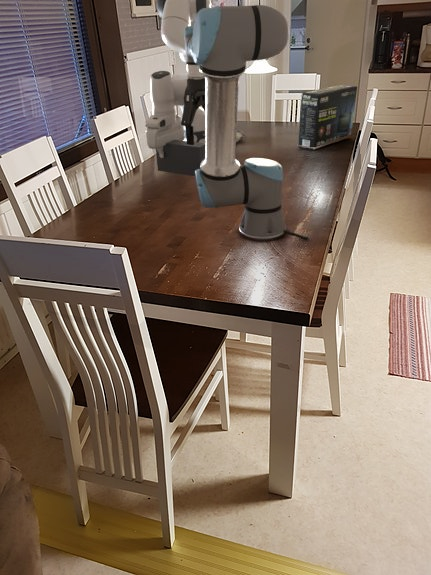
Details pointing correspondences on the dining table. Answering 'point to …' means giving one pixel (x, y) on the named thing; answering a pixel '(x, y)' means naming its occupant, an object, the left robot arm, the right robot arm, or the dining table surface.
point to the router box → (326, 115)
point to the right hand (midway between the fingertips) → (200, 140)
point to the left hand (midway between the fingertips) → (167, 154)
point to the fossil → (239, 135)
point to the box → (181, 157)
